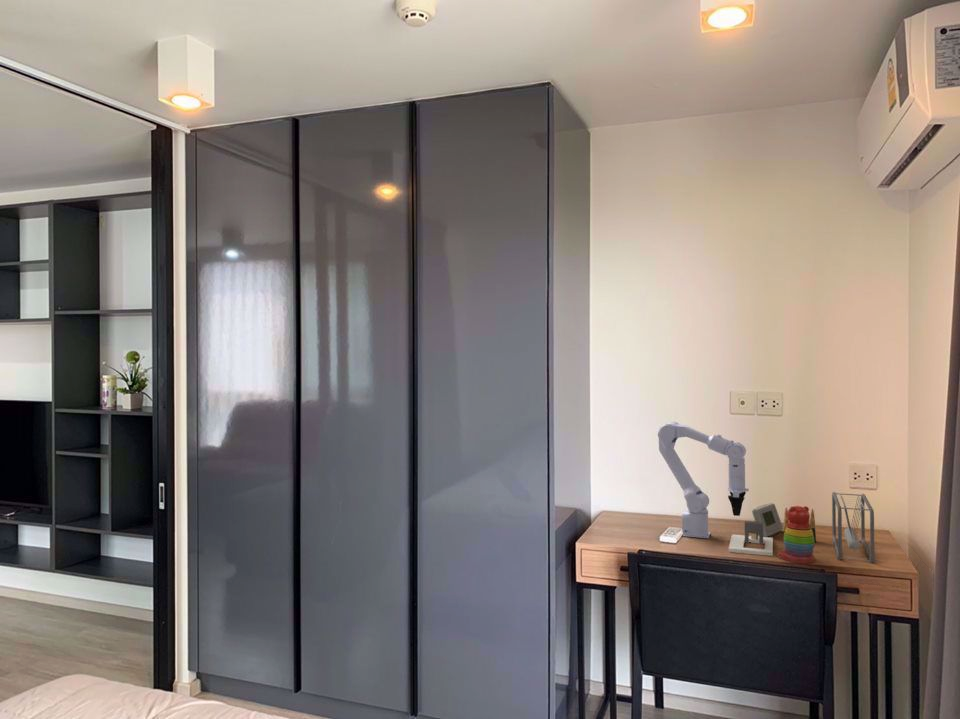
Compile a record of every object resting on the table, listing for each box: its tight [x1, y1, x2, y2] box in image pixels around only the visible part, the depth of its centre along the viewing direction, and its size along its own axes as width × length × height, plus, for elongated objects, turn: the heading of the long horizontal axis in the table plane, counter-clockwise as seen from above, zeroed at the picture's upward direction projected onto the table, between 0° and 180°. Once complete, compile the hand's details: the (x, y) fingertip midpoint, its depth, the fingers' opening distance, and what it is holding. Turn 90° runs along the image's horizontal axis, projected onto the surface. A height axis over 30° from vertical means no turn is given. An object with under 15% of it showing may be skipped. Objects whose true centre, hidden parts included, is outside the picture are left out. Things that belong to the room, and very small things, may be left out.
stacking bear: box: [777, 505, 816, 564], centre depth 231 cm, size 11×10×18 cm
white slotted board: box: [728, 533, 774, 557], centre depth 247 cm, size 14×20×6 cm
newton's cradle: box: [831, 491, 875, 564], centre depth 240 cm, size 30×10×18 cm, turn 156°
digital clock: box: [751, 502, 784, 538], centre depth 264 cm, size 16×9×11 cm, turn 122°
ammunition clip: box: [782, 507, 817, 543], centre depth 253 cm, size 11×2×12 cm, turn 74°
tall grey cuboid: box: [744, 520, 764, 545], centre depth 244 cm, size 6×2×7 cm, turn 67°
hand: (737, 513), depth 255 cm, fingers open, 7 cm apart
